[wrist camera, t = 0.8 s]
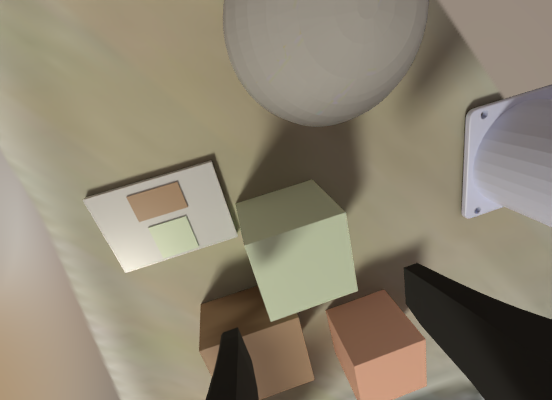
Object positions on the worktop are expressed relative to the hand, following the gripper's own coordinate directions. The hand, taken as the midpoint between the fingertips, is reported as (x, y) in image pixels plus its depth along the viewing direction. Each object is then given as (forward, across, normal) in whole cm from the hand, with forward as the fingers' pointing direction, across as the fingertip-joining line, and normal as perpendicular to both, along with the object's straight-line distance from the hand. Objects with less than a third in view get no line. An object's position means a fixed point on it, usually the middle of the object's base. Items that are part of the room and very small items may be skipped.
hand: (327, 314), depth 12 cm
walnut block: (+8, +4, +7) cm, 11 cm away
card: (+8, +6, -3) cm, 11 cm away
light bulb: (+8, -2, -10) cm, 13 cm away
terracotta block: (+8, -4, +11) cm, 14 cm away
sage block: (+8, 0, 0) cm, 8 cm away
